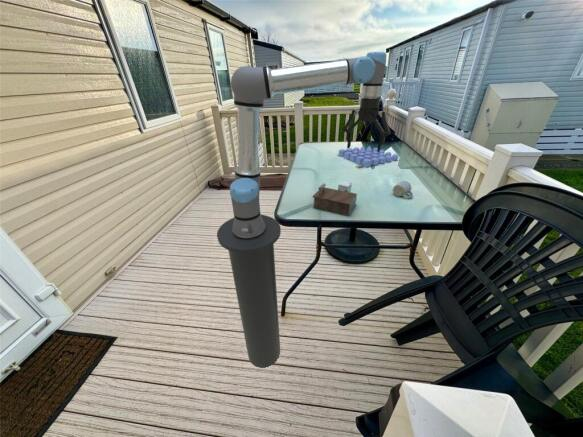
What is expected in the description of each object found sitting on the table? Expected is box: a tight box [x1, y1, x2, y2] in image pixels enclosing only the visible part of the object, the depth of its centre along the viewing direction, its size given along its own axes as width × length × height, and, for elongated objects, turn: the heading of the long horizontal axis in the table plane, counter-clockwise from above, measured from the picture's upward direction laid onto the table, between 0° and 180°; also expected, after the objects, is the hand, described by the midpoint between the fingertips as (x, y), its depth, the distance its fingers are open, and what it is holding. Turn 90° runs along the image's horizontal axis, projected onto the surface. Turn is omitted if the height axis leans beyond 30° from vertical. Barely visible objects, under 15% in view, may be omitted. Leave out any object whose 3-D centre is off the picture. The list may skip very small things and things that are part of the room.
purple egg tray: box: [338, 145, 399, 168], centre depth 203 cm, size 35×34×5 cm
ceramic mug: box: [392, 180, 414, 200], centre depth 141 cm, size 11×8×8 cm
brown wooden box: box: [313, 196, 357, 217], centre depth 131 cm, size 19×13×6 cm
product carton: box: [337, 180, 353, 193], centre depth 143 cm, size 6×6×7 cm
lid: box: [312, 182, 358, 205], centre depth 129 cm, size 20×13×5 cm, turn 62°
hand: (363, 149), depth 111 cm, fingers open, 13 cm apart
